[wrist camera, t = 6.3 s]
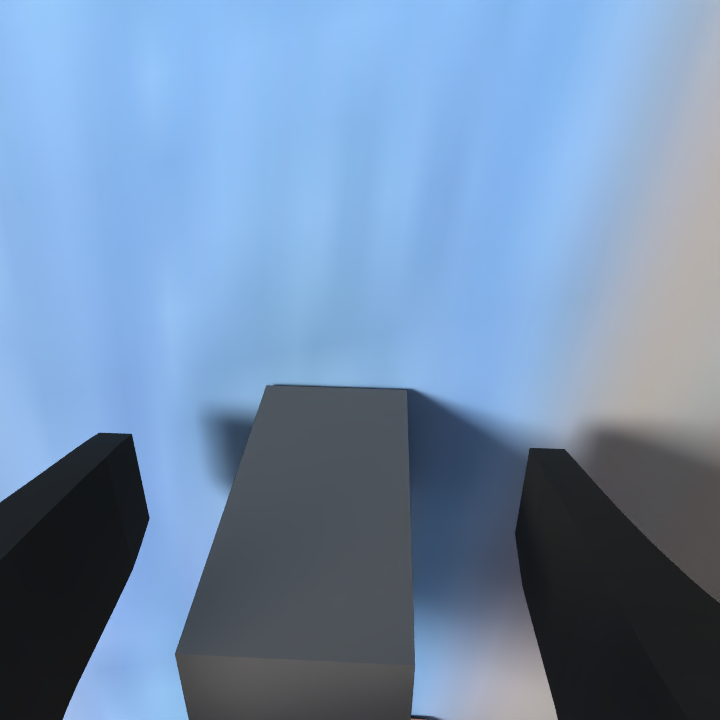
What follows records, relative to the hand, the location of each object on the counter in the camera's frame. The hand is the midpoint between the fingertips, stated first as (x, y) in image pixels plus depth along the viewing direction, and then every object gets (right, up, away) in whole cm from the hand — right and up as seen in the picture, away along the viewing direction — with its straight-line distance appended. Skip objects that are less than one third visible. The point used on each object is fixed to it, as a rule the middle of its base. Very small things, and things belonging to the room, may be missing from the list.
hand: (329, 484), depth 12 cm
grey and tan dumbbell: (0, -5, +5) cm, 7 cm away
